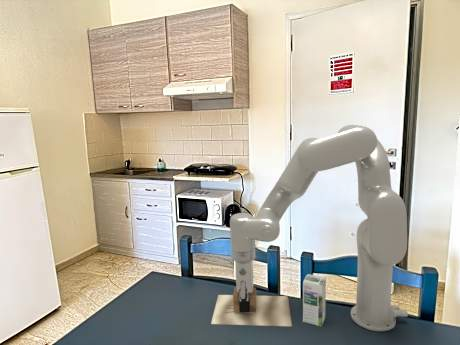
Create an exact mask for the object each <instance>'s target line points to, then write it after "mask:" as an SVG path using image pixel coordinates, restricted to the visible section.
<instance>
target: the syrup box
mask: <svg viewBox="0 0 460 345" xmlns="http://www.w3.org/2000/svg"><path fill="white" fill-rule="evenodd" d="M326 286H327V278H326V277H325V276H319V275H315V274H310V273H307V275H305V277H304V279H303V282H302V323H305V324H309V325H313V326H317V327H320V328H321V327H323V324H324V321H325V320H326V301H327V300H326V297H327V296H326V294H327V293H326V292H327V291H326V290H327V289H326V288H327V287H326Z"/></svg>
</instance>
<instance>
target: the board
mask: <svg viewBox="0 0 460 345" xmlns="http://www.w3.org/2000/svg"><path fill="white" fill-rule="evenodd" d="M210 324H211V325H231V326H232V325H234V326H260V327H261V326H262V327H263V326H265V327H267V326H268V327H293V324H292V316H291V310H290V303H289V296H287V295H286V296H285V295H282V296H281V295H256V314H245V313H234V304H233V294H218V295H217V299H216V302H215V306H214V310H213V315H212V319H211V323H210Z"/></svg>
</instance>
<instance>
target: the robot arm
mask: <svg viewBox="0 0 460 345" xmlns="http://www.w3.org/2000/svg"><path fill="white" fill-rule="evenodd" d="M351 163H355V165H356V172H357V187H358V190H357V191H358V193H357V194H358V196H357V200H358V205H359V208H360V209H361V211H362V213H364V215H365V216H367V217H366V218H365V219H363V220H362V221H361V222H360V223H359V224H358V227H357V230H356V247H357V249H356V250H357V270H356V271H357V273H356V274H357V275H356V276H357V277H356V301H355V302H356V304H355V305H354V306H353V307H351V310H350V317H351V320H352V321H353V322H354V323H356V324H357V325H358V326H360V327H362V328H364V329H366V330H368V331H369V330H370V331H373V332H386V331H390V330H393V329H394V328H395V327H396V323H397V322H396V318H398V317H404V318H405V317H408V314H409V313H408V311H407V309H400V306H399V305H392V304H391V302H392V290H393V289H392V288H393V285H392V284H393V274H394V273H393V271H394V270H393V269H394V268H393V267H394V265H397V264H399V263H400V262H401V261H402V260H403V259H404V257H405V255H406V253H407V249H408V218H407V216H408V215H407V208H406V204H405V202H404V200H403V199H402V197H401V196H400V195H399V194H398V193H397V192H395V191H394V190H393V189H392V181H391V169H390V161H389V156H388V153H387V151H386V149H385V147H384V146H383V144H382V143H381V141H379V139H378V137H377V135H376V133H375V132H374V131H373V130H372V129H371V128H369V127H367V126H363V125H358V124H350V125H348V124H347V125H345V126H342V127H341V128H340V129H339V130H338V131H337V133H335V134H331V135H328V136H324V137H321V138H316V137H309V138H306V139H304V140H303V141H302V142H301V143H300V144H299V145H298V147H297V149H296V150H295V152H294V153H293V155H292V156H291V158H290V160H289V162H288V164H287V165H286V167H285V169H284V170H283V172H282V173H281V175H280V177H279V178H278V180H277V181H276V183H275V184H274V187H273V188H272V190H271V191H270V192H269V193H268V195H267V197H266V198H265V200H264V202H263V203H262V205H261V207H260V209H258V212H257V214H256V216H255V217H254V216H253V215H252V214H251V213H247V212H238V213H235V214H232V215H231V216H230V219H229V230H230V255H231V256H230V257H231V260H232V261H233V262H235V264H234V265H235V266H234V267H235V284H236V287H237V292H238V293H239V295H240V299H239V311H240V312H250V301H249V296H248V292H249V293H252V292H253V288H254V262H253V261H254V260H256V241H259V242H264V243H270V242H273V241H275V240H277V239H278V237H279V235H280V233H281V232H280V231H281V229H280V227H281V226H280V221H281V220H282V217H283V216H284V214H285V212H286V211H287V210H288V208H289V207H290V206H291V204H292V203H294V201H296V200H298V199H300V198H302V197H303V196H304V195H305V194H306V192H307V190H308V189H309V187H310V185H311V183H312V182H313V181H314V179H315V177H316V176H317V174H318V173H319V172H324V171H327V170H333V169H335V168H338V167H341V166H345V165H348V164H351ZM245 289H247V290H245ZM245 293H247V296H245Z"/></svg>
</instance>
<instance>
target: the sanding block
mask: <svg viewBox="0 0 460 345" xmlns="http://www.w3.org/2000/svg"><path fill="white" fill-rule="evenodd" d="M245 290H247V289H245ZM232 295H233V304H234V313H245V314H256V296H257V288H256V287H253V292H252V293H249V292H248V296H249V301H250V312H240V311H239V299H240V295H239V293H238V292H237V286H235V287H234V289H233V294H232ZM245 296H247V293H245Z"/></svg>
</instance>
